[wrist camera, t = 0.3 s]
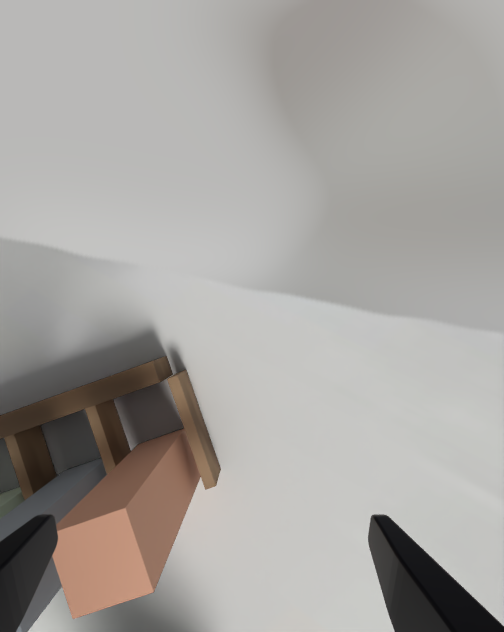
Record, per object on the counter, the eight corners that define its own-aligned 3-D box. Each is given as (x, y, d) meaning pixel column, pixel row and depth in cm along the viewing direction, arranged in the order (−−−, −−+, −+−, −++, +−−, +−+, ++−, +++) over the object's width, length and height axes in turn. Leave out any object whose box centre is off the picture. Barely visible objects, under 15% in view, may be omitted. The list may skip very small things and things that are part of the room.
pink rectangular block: (200, 475, 23) (153, 592, 13) (154, 491, 23) (72, 619, 13) (184, 428, 23) (125, 507, 13) (138, 444, 24) (45, 535, 14)
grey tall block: (125, 502, 23) (23, 636, 13) (80, 517, 24) (-55, 662, 14) (109, 454, 24) (-4, 552, 14) (64, 470, 24) (-81, 579, 14)
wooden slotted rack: (220, 469, 23) (214, 490, 20) (-11, 548, 24) (-50, 581, 21) (179, 351, 24) (167, 355, 21) (-48, 432, 24) (-92, 448, 21)
